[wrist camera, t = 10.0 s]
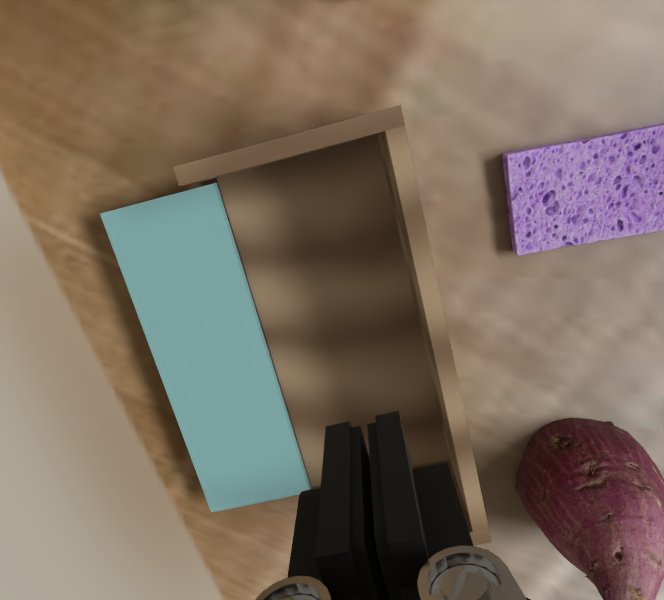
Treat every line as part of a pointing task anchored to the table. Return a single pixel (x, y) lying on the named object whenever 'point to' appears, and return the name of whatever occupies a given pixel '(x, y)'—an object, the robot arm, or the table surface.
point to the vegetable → (598, 504)
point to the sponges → (585, 190)
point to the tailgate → (208, 345)
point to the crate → (348, 289)
